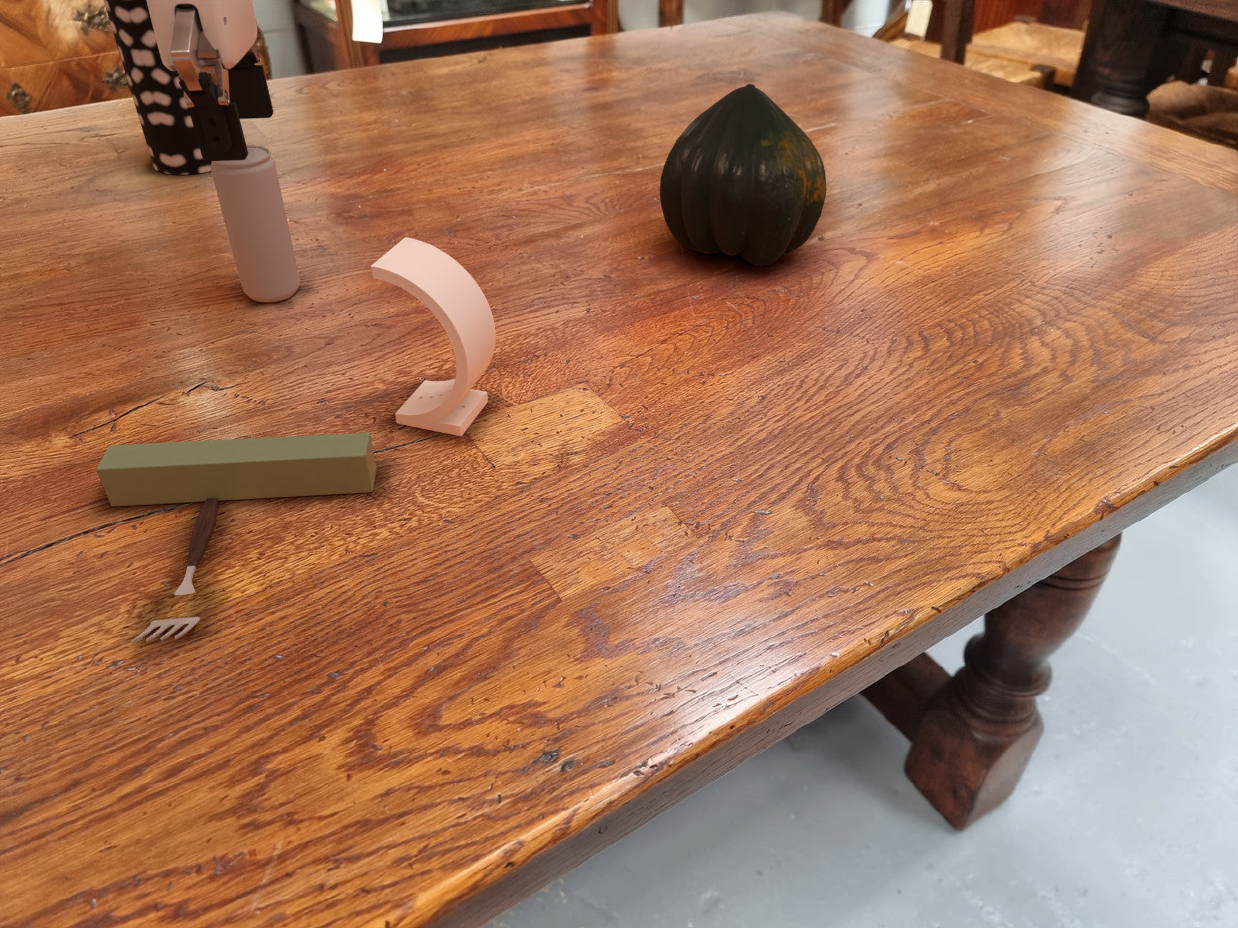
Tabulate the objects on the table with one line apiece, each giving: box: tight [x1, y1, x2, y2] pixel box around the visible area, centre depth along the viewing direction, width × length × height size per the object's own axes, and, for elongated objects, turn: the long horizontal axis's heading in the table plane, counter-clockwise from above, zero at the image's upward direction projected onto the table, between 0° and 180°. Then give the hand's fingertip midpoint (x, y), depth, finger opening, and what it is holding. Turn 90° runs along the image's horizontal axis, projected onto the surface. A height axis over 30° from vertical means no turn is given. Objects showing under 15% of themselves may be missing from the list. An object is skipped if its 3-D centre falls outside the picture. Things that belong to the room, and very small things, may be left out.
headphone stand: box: [370, 236, 497, 437], centre depth 62 cm, size 5×6×12 cm
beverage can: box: [210, 144, 301, 303], centre depth 76 cm, size 5×5×12 cm
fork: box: [130, 498, 220, 644], centre depth 54 cm, size 3×16×2 cm, turn 8°
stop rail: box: [95, 432, 378, 507], centre depth 58 cm, size 16×2×3 cm, turn 96°
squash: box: [659, 83, 827, 267], centre depth 85 cm, size 14×15×15 cm
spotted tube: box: [102, 0, 214, 176], centre depth 99 cm, size 8×8×20 cm
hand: (240, 137), depth 72 cm, fingers open, 9 cm apart
